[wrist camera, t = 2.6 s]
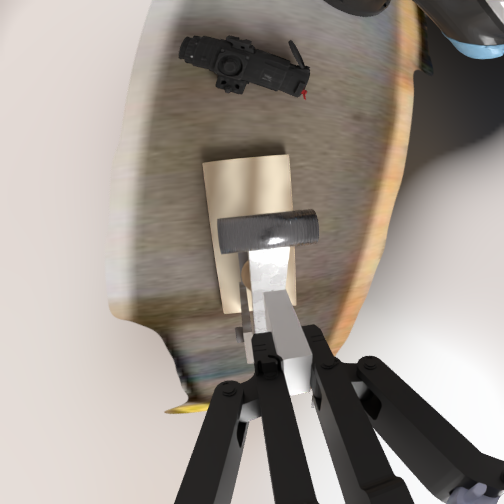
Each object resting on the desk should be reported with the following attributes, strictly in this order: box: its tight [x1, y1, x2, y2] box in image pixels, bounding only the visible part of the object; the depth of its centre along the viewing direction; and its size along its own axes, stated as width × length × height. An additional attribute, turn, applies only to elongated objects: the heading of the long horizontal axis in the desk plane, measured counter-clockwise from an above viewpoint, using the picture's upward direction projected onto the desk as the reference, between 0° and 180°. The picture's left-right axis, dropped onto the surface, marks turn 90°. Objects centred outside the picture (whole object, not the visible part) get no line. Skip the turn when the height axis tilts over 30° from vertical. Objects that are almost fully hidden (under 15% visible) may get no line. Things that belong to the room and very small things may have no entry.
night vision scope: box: [179, 36, 310, 100], centre depth 30 cm, size 8×18×10 cm
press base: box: [202, 155, 296, 364], centre depth 35 cm, size 12×24×15 cm, turn 5°
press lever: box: [217, 209, 319, 334], centre depth 27 cm, size 7×21×3 cm, turn 5°
